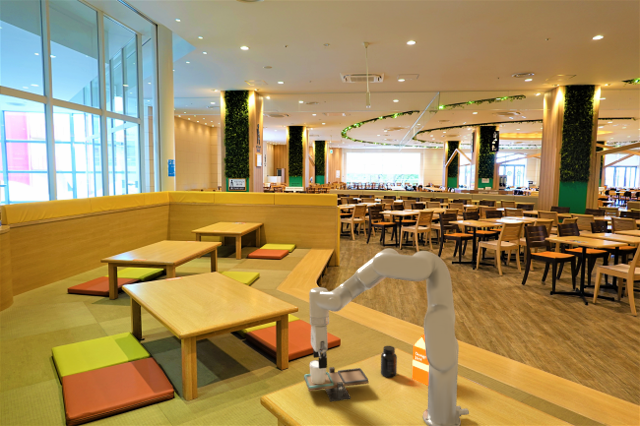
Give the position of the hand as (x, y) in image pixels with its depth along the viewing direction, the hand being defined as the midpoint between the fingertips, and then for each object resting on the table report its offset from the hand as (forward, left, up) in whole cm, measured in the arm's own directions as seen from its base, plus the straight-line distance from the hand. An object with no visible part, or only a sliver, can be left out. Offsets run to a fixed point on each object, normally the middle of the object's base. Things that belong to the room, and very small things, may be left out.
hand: (320, 362), depth 151 cm
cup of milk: (+1, 0, -8) cm, 8 cm away
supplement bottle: (-33, -8, -13) cm, 36 cm away
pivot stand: (-7, 0, -12) cm, 14 cm away
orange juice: (-47, -1, -13) cm, 48 cm away
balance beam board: (-7, 0, -8) cm, 10 cm away
